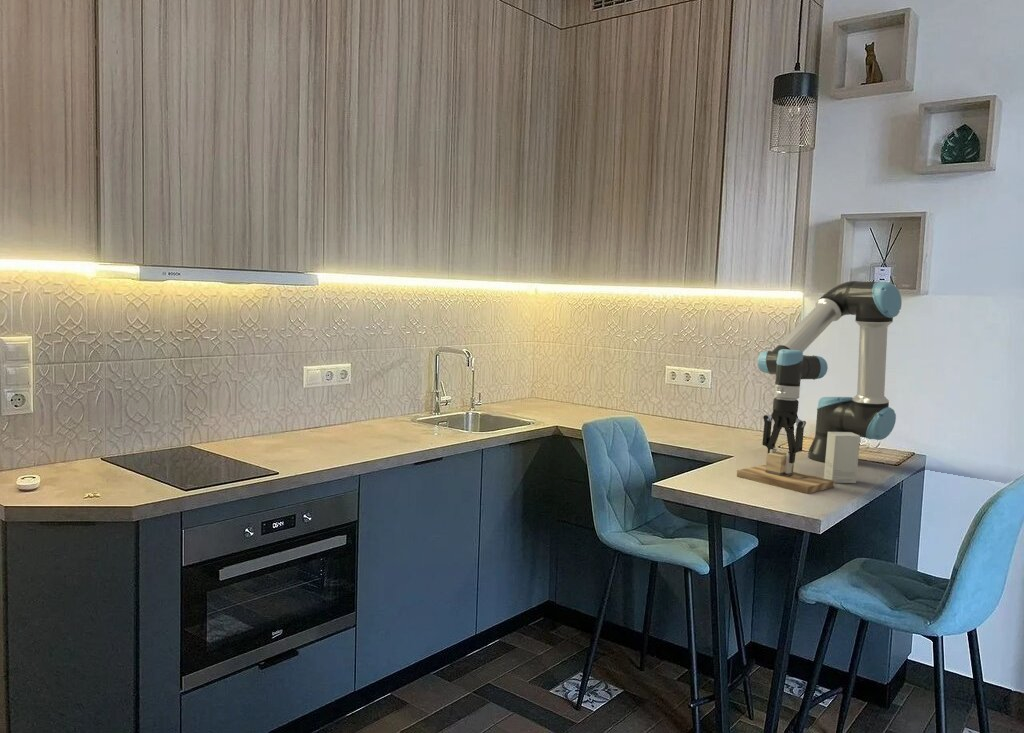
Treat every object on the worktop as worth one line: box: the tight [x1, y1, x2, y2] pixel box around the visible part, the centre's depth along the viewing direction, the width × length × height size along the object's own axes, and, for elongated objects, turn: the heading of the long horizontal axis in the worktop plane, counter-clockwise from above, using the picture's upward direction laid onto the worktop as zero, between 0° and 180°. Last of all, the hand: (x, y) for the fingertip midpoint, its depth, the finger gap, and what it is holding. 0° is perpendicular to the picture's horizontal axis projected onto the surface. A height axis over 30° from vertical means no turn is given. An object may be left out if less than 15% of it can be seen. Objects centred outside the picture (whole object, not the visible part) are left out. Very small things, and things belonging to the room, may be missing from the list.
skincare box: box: [823, 432, 862, 484], centre depth 251 cm, size 8×7×16 cm
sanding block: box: [765, 451, 795, 475], centre depth 250 cm, size 8×5×6 cm, turn 131°
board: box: [736, 464, 835, 495], centre depth 247 cm, size 16×24×2 cm, turn 41°
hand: (779, 470), depth 250 cm, fingers closed on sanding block, 5 cm apart
